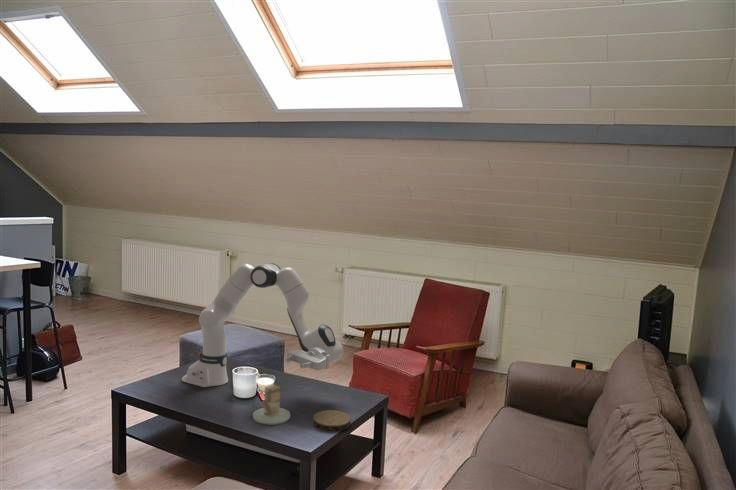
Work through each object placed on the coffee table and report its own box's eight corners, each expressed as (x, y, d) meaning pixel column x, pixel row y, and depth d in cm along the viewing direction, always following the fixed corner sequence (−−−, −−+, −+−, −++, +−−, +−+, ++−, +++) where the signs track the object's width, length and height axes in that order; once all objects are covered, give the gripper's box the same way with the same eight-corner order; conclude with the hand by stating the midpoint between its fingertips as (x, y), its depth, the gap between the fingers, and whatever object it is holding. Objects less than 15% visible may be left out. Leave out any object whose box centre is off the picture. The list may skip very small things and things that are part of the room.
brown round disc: (345, 434, 244) (346, 427, 244) (308, 429, 247) (308, 422, 246) (353, 419, 260) (354, 412, 259) (318, 414, 262) (318, 408, 262)
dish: (246, 421, 250) (246, 418, 250) (262, 407, 266) (262, 404, 266) (281, 427, 246) (281, 424, 246) (295, 413, 262) (296, 410, 262)
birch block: (263, 414, 256) (265, 387, 254) (272, 411, 259) (273, 384, 258) (271, 417, 253) (272, 390, 251) (279, 414, 256) (280, 387, 255)
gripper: (300, 345, 280) (278, 350, 269) (332, 355, 267) (310, 362, 256) (299, 358, 280) (277, 363, 270) (331, 369, 268) (309, 376, 257)
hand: (293, 363), depth 263 cm, fingers open, 8 cm apart
